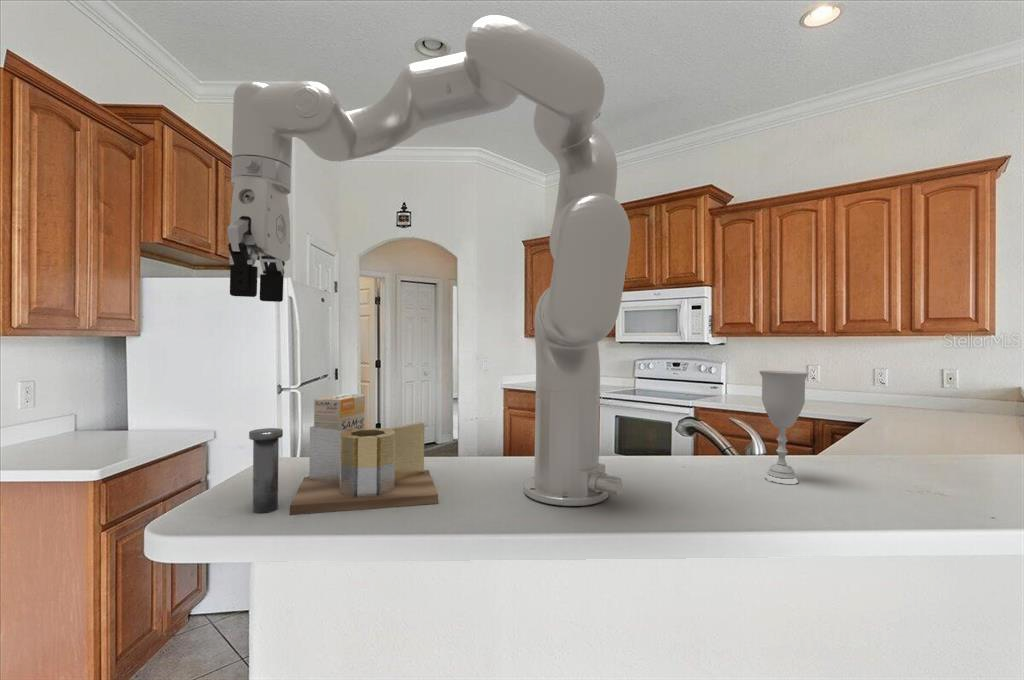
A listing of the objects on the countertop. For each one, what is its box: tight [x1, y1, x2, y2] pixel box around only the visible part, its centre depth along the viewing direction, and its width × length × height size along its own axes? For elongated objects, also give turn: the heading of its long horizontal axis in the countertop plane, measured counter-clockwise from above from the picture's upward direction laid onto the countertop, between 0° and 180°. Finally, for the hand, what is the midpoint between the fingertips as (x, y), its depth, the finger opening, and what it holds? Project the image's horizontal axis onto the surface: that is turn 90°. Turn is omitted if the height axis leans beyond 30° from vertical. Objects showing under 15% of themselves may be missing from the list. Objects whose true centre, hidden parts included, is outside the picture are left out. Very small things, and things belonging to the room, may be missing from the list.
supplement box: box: [313, 393, 366, 430], centre depth 82 cm, size 8×5×13 cm, turn 168°
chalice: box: [758, 370, 810, 479], centre depth 82 cm, size 7×7×18 cm
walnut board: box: [289, 469, 439, 516], centre depth 72 cm, size 13×19×1 cm
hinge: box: [308, 422, 425, 498], centre depth 73 cm, size 11×17×8 cm, turn 105°
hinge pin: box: [248, 427, 284, 514], centre depth 65 cm, size 4×4×10 cm
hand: (258, 298), depth 70 cm, fingers open, 9 cm apart
